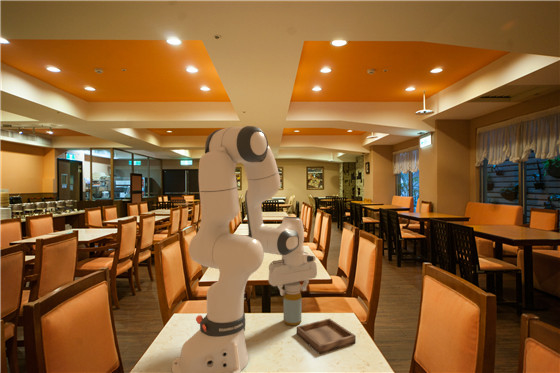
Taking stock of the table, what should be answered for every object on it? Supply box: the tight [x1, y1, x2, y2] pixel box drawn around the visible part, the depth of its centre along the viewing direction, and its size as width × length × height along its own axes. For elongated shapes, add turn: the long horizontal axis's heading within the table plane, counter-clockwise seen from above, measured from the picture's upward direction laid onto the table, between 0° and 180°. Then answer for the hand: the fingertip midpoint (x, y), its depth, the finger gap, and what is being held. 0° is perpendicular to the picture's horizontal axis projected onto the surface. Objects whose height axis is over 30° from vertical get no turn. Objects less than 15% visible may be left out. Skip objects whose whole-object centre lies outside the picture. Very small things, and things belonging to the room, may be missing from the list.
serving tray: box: [296, 318, 357, 355], centre depth 105 cm, size 15×15×2 cm
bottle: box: [283, 281, 302, 327], centre depth 117 cm, size 7×7×15 cm
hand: (293, 292), depth 118 cm, fingers open, 8 cm apart
